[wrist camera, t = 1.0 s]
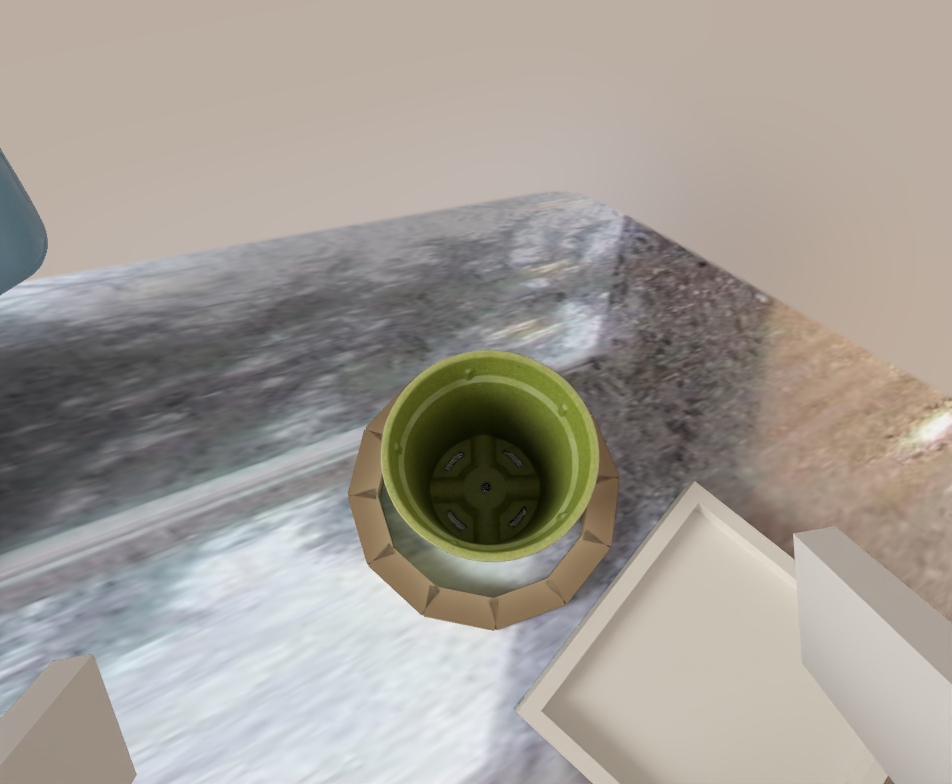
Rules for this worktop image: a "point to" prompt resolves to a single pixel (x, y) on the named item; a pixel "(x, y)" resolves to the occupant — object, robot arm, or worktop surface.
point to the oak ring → (464, 604)
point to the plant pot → (490, 455)
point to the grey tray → (696, 668)
